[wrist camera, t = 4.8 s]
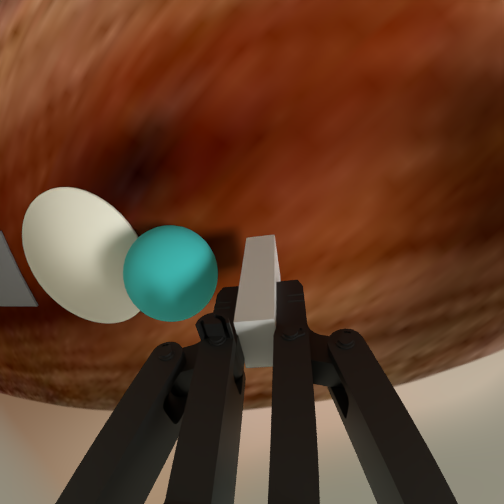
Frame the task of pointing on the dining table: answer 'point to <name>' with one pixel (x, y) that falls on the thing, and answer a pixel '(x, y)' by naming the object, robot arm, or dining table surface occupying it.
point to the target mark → (80, 253)
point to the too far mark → (12, 280)
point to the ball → (170, 273)
